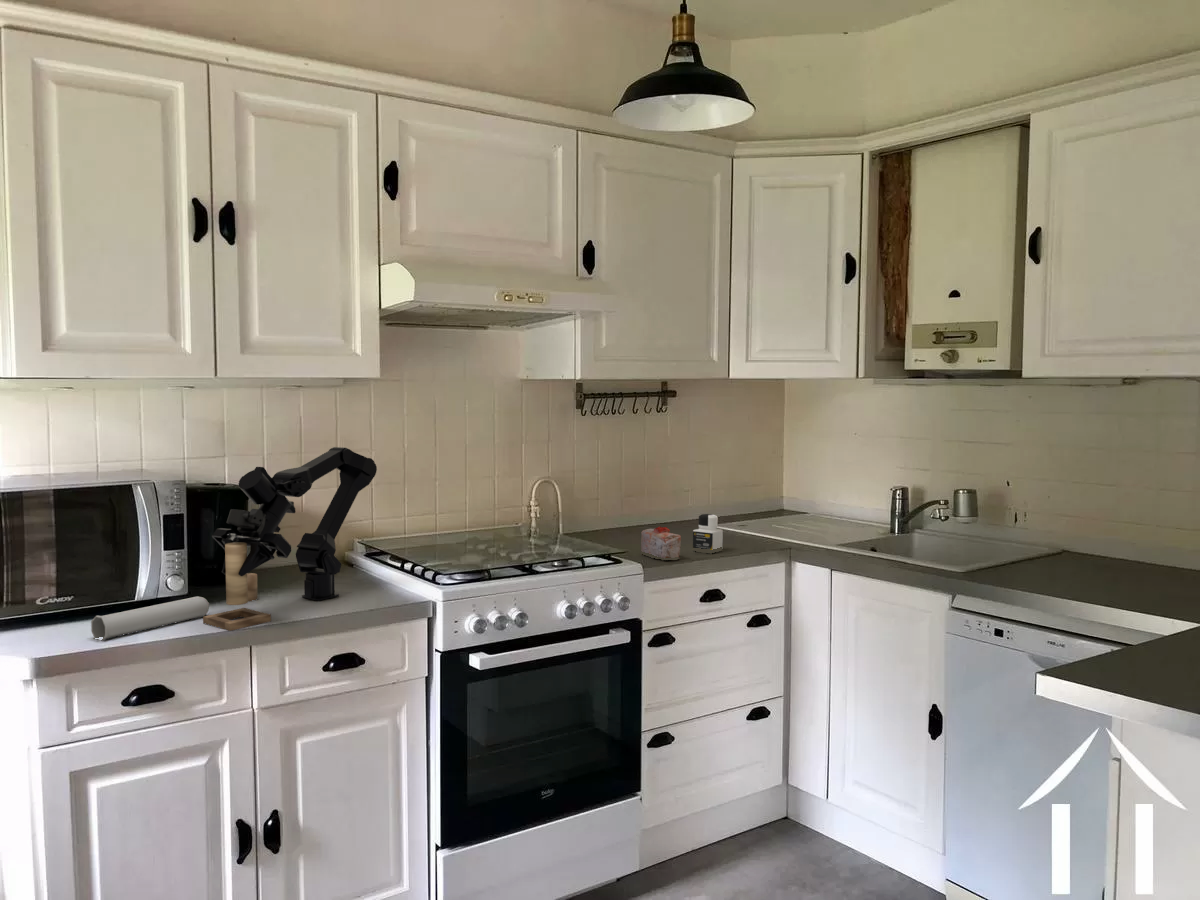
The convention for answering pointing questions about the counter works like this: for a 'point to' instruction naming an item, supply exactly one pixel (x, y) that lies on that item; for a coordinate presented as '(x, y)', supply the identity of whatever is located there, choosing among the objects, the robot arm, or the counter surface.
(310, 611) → the counter surface
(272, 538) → the robot arm
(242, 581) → the oak dowel
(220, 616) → the hole plate
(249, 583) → the walnut stub
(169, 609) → the tube
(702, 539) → the medicine bottle
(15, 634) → the counter surface
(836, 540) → the counter surface
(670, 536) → the food item
